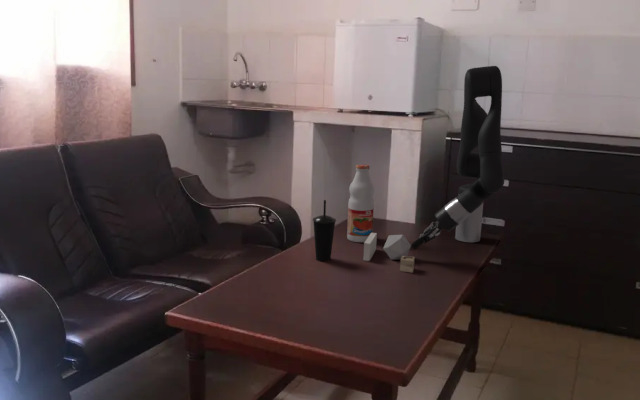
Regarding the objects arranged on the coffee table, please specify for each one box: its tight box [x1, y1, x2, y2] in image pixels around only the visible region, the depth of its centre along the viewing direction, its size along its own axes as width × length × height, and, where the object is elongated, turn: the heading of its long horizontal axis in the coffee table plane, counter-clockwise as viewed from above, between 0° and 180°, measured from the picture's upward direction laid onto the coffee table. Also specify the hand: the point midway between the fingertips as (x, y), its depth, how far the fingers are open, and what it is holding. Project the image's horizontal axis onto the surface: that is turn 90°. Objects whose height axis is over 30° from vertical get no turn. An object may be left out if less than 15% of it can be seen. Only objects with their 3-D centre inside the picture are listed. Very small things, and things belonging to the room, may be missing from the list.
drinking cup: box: [312, 199, 337, 262], centre depth 201 cm, size 8×8×20 cm
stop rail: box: [362, 232, 378, 262], centre depth 209 cm, size 14×2×6 cm, turn 166°
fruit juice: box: [346, 163, 375, 243], centre depth 225 cm, size 9×9×28 cm
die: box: [382, 234, 412, 261], centre depth 206 cm, size 8×9×10 cm
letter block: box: [399, 255, 416, 274], centre depth 195 cm, size 4×4×4 cm
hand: (413, 247), depth 205 cm, fingers closed
